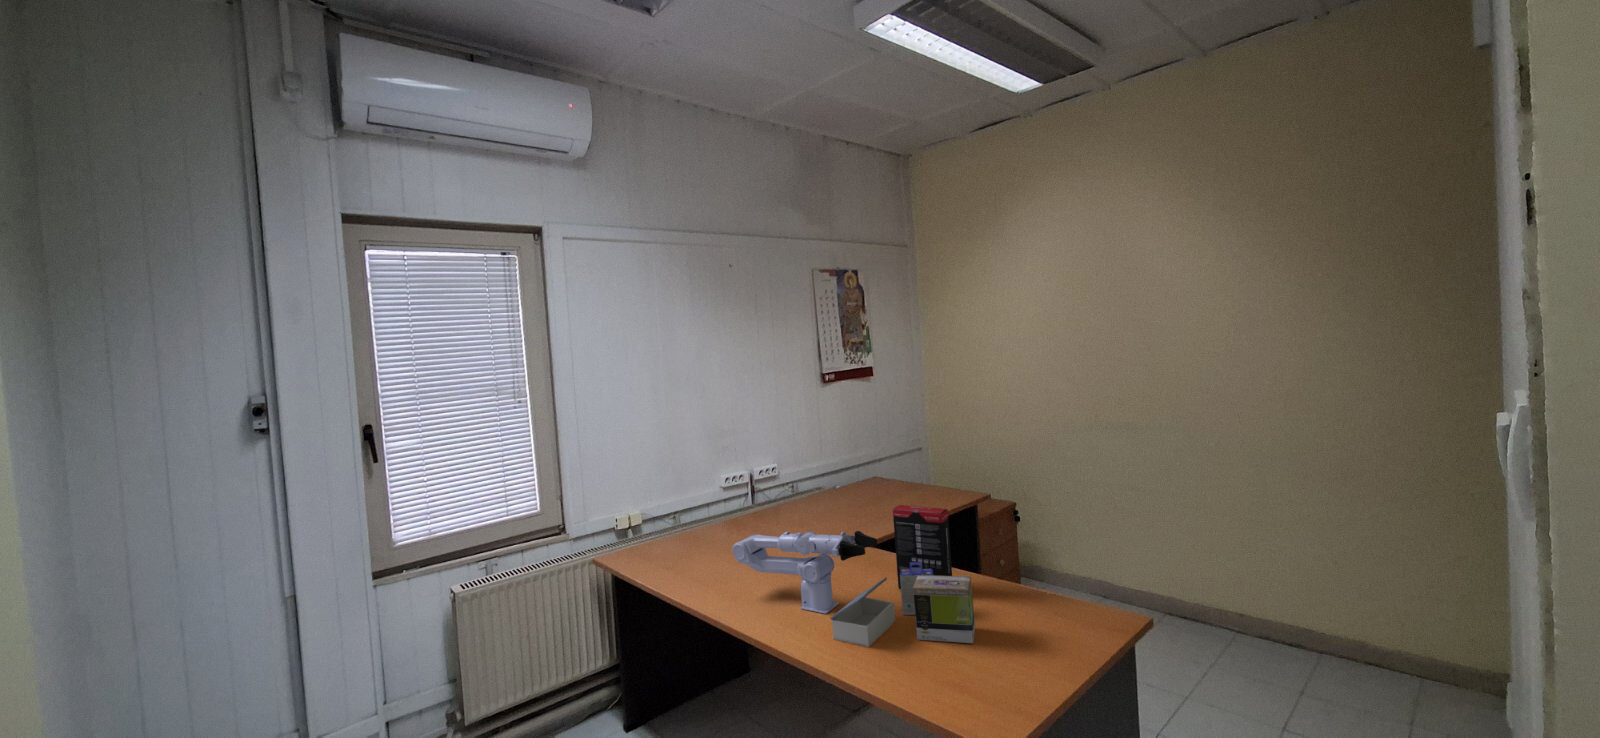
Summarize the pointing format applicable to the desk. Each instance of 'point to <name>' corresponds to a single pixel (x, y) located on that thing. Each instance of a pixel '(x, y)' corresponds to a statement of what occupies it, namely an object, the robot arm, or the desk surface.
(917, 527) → the graphics card box
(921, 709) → the desk surface
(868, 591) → the box lid
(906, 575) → the ink cartridge box
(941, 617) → the tea box
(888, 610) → the storage box
